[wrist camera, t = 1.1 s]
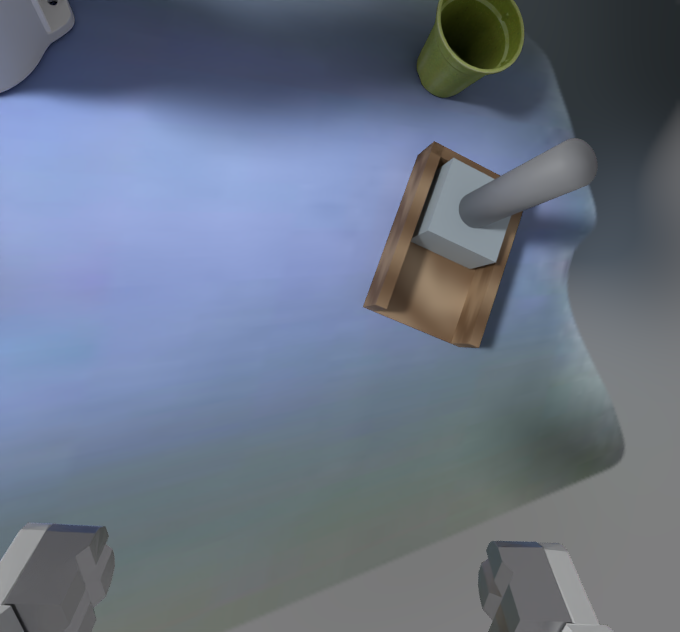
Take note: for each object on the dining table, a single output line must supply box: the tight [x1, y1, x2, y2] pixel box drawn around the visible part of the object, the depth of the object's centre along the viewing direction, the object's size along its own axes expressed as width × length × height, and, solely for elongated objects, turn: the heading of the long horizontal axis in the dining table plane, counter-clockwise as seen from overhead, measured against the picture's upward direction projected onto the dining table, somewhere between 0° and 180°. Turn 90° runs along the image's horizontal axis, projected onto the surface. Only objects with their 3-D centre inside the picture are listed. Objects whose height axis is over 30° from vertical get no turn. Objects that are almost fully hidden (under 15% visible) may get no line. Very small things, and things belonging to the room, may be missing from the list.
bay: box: [363, 141, 523, 348], centre depth 52 cm, size 18×12×4 cm, turn 159°
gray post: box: [411, 138, 597, 269], centre depth 45 cm, size 8×8×19 cm
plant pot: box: [417, 0, 524, 98], centre depth 51 cm, size 9×9×9 cm
